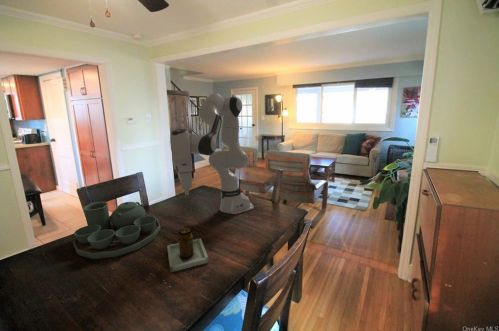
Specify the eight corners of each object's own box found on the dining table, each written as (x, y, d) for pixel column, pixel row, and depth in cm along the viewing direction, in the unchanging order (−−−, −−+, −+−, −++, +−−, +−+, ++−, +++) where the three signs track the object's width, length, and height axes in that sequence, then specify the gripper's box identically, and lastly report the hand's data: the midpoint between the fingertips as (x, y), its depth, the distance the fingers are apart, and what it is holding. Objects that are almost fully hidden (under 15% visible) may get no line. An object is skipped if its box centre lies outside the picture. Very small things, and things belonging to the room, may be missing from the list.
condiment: (191, 248, 112) (189, 225, 109) (199, 256, 106) (197, 232, 103) (176, 254, 108) (173, 230, 105) (183, 263, 101) (181, 238, 98)
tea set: (59, 267, 101) (51, 233, 97) (91, 225, 139) (86, 198, 135) (157, 251, 112) (153, 219, 108) (163, 215, 149) (160, 191, 145)
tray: (200, 241, 119) (200, 238, 118) (209, 262, 102) (208, 258, 102) (167, 249, 113) (167, 245, 112) (170, 272, 96) (170, 268, 96)
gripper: (173, 160, 120) (176, 185, 123) (178, 170, 101) (181, 200, 105) (186, 158, 122) (188, 183, 126) (193, 168, 104) (195, 197, 108)
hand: (185, 191), depth 115 cm, fingers open, 8 cm apart
